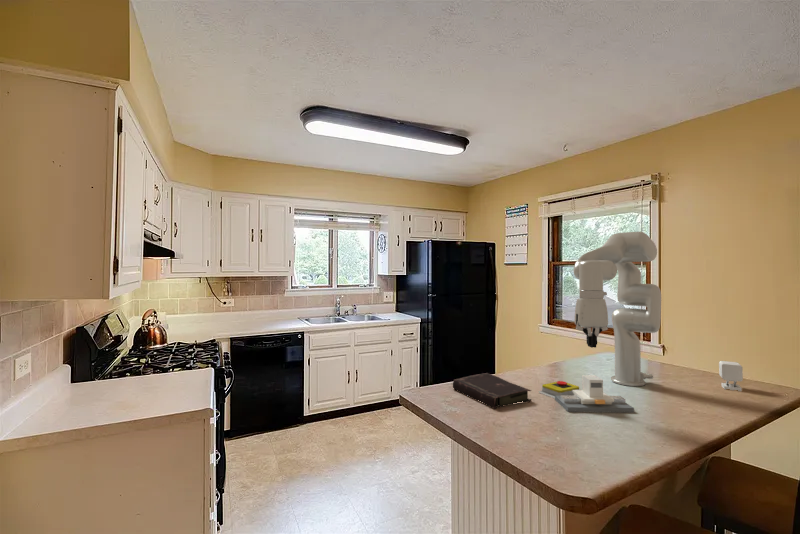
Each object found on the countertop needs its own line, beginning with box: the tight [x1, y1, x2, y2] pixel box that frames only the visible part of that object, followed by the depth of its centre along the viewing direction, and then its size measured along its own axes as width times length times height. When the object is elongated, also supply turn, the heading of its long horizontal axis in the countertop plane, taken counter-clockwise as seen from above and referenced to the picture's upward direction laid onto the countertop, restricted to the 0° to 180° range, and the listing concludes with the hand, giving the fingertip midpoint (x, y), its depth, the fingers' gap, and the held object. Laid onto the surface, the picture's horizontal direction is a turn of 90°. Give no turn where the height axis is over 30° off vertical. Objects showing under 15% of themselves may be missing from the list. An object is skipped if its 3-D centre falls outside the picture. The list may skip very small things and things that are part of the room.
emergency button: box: [538, 380, 580, 400], centre depth 148 cm, size 9×4×15 cm
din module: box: [581, 374, 604, 397], centre depth 134 cm, size 4×6×6 cm
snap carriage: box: [572, 389, 614, 404], centre depth 133 cm, size 10×11×2 cm
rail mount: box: [554, 395, 635, 413], centre depth 134 cm, size 22×12×3 cm, turn 87°
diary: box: [452, 372, 532, 410], centre depth 146 cm, size 19×25×5 cm
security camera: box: [718, 360, 744, 392], centre depth 153 cm, size 6×7×10 cm
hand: (591, 346), depth 134 cm, fingers closed
